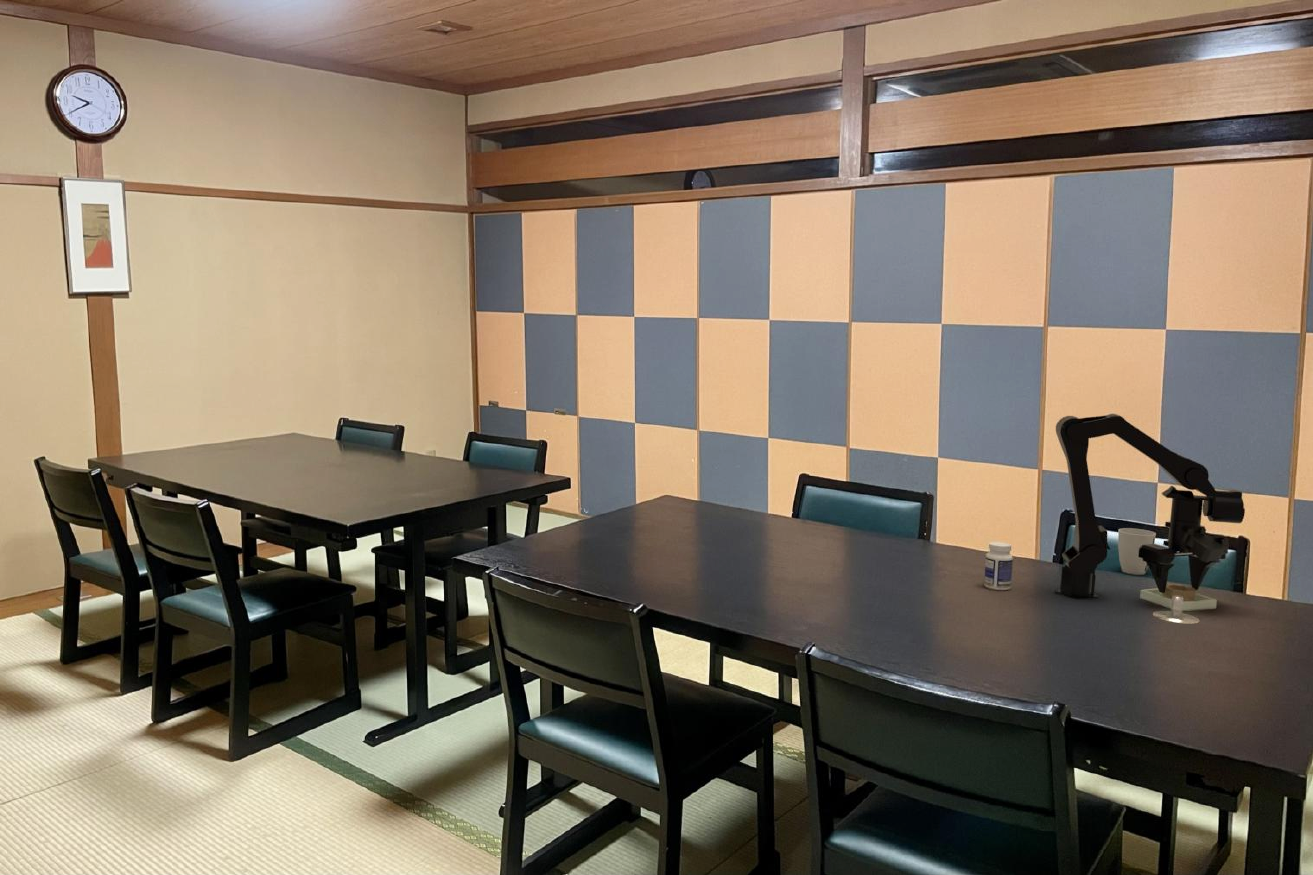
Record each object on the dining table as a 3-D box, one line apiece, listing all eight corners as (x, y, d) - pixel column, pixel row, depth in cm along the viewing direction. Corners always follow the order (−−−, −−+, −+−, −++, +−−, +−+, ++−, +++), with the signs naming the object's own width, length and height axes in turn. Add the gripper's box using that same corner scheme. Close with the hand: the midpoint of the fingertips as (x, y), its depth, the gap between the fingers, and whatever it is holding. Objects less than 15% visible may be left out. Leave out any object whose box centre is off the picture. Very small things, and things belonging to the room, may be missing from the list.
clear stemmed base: (1177, 626, 195) (1179, 604, 194) (1143, 614, 202) (1145, 592, 202) (1209, 623, 197) (1211, 601, 197) (1174, 611, 205) (1176, 590, 205)
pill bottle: (1011, 586, 222) (1015, 543, 220) (1009, 592, 216) (1012, 548, 215) (985, 582, 224) (988, 539, 223) (982, 588, 219) (985, 544, 218)
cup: (1156, 577, 233) (1160, 536, 232) (1119, 574, 235) (1123, 533, 234) (1146, 569, 241) (1150, 529, 240) (1111, 566, 243) (1114, 527, 242)
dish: (1178, 613, 204) (1179, 603, 204) (1139, 599, 213) (1140, 589, 213) (1215, 610, 207) (1216, 599, 207) (1175, 596, 217) (1176, 587, 217)
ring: (1178, 607, 206) (1179, 592, 206) (1155, 599, 212) (1156, 584, 212) (1200, 605, 208) (1201, 590, 208) (1176, 597, 214) (1178, 583, 214)
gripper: (1183, 529, 198) (1176, 604, 199) (1252, 525, 204) (1244, 598, 206) (1139, 518, 208) (1133, 590, 210) (1206, 515, 214) (1199, 584, 216)
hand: (1178, 591), depth 210 cm, fingers open, 9 cm apart
